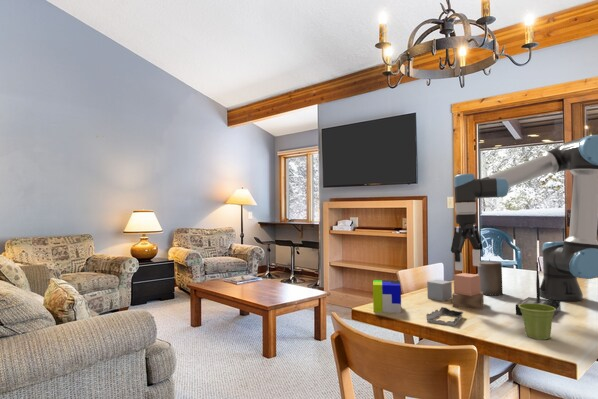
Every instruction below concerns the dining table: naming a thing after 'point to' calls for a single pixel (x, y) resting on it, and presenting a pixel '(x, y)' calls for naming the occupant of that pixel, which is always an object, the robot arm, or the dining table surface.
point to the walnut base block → (468, 301)
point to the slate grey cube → (439, 290)
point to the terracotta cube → (467, 284)
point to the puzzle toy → (386, 296)
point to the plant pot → (537, 320)
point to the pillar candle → (490, 277)
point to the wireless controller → (539, 301)
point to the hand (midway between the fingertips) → (468, 268)
